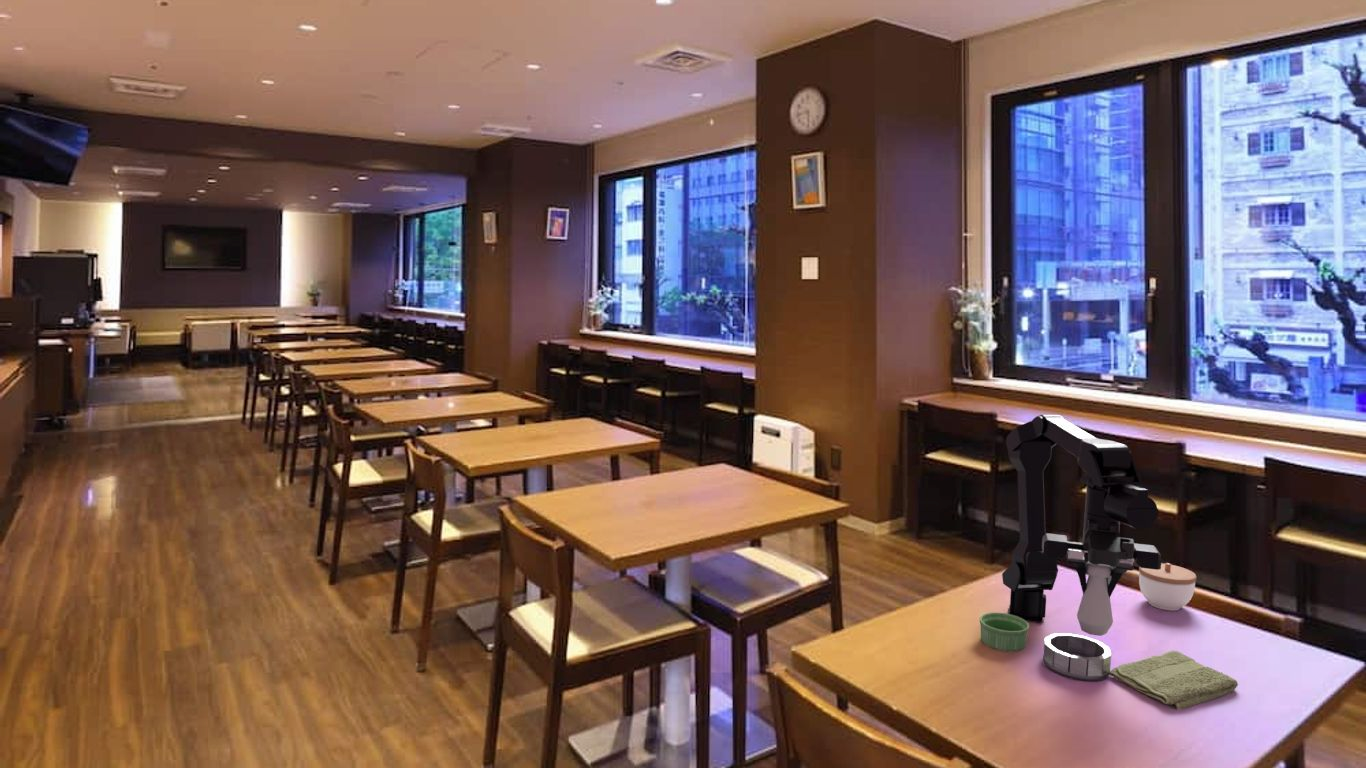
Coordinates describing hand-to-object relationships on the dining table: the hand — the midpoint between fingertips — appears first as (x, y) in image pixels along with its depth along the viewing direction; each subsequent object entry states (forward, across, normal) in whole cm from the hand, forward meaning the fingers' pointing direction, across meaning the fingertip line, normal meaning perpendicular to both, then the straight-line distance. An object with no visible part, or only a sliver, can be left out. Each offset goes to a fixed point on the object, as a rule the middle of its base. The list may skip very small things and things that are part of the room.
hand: (1095, 596), depth 147 cm
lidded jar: (+13, +18, +38) cm, 44 cm away
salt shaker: (+7, 0, 0) cm, 7 cm away
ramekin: (+13, -15, +4) cm, 20 cm away
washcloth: (+14, +13, -3) cm, 19 cm away
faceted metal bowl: (+13, -3, -2) cm, 13 cm away
